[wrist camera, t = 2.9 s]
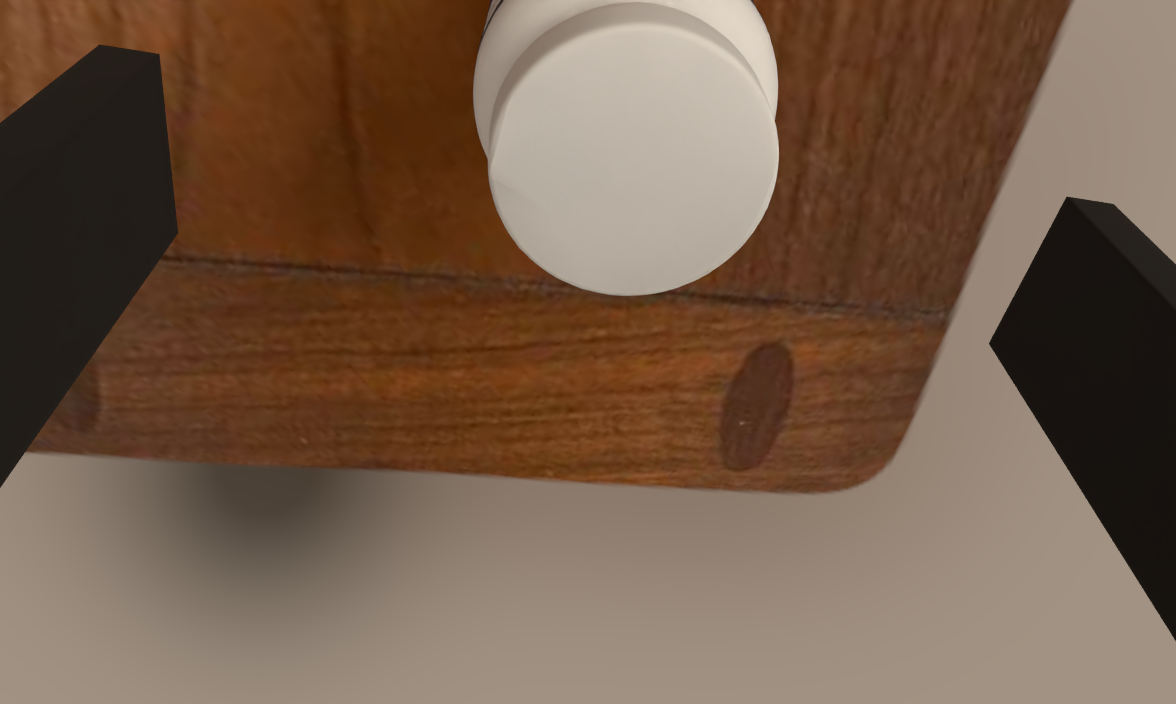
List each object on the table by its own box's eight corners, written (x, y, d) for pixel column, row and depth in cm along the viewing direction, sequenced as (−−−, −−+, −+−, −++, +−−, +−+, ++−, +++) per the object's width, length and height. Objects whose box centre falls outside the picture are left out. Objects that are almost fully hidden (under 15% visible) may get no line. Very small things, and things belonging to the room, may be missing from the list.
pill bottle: (707, 120, 24) (771, 336, 16) (492, 102, 24) (450, 314, 16) (749, -118, 21) (854, 8, 13) (499, -142, 21) (450, -29, 13)
